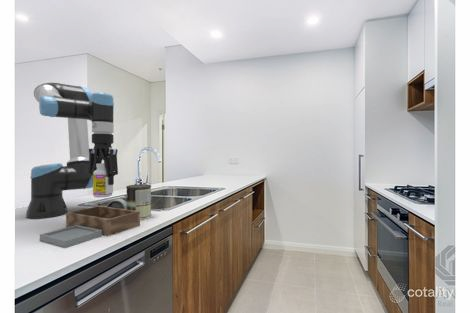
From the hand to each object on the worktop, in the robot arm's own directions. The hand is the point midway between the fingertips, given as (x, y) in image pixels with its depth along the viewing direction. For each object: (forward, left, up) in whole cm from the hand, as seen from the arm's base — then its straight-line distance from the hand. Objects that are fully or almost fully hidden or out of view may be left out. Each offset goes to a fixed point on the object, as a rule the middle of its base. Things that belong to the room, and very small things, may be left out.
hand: (102, 192), depth 98 cm
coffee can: (+2, +16, -13) cm, 21 cm away
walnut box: (0, 0, -13) cm, 13 cm away
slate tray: (+3, -14, -13) cm, 20 cm away
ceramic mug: (-10, +13, -13) cm, 21 cm away
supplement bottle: (0, 0, -2) cm, 2 cm away
